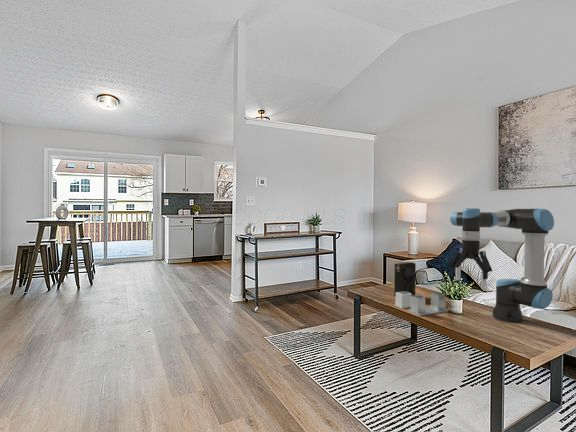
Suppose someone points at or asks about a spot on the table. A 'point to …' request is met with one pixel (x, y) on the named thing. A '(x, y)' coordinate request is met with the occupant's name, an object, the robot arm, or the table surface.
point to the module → (403, 299)
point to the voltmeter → (405, 277)
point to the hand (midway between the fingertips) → (470, 282)
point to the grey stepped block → (420, 309)
